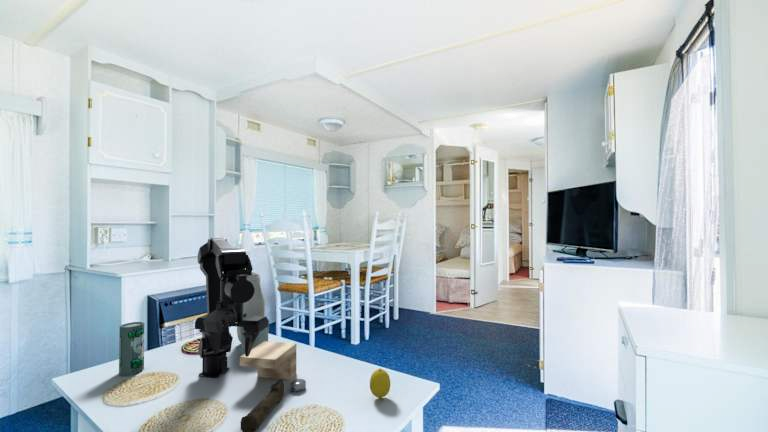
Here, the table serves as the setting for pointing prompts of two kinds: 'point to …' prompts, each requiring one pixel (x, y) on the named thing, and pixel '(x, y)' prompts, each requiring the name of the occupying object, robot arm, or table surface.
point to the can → (131, 348)
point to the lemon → (380, 383)
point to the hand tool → (263, 407)
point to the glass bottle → (253, 301)
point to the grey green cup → (260, 338)
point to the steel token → (297, 385)
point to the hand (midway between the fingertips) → (231, 354)
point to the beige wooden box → (272, 360)
